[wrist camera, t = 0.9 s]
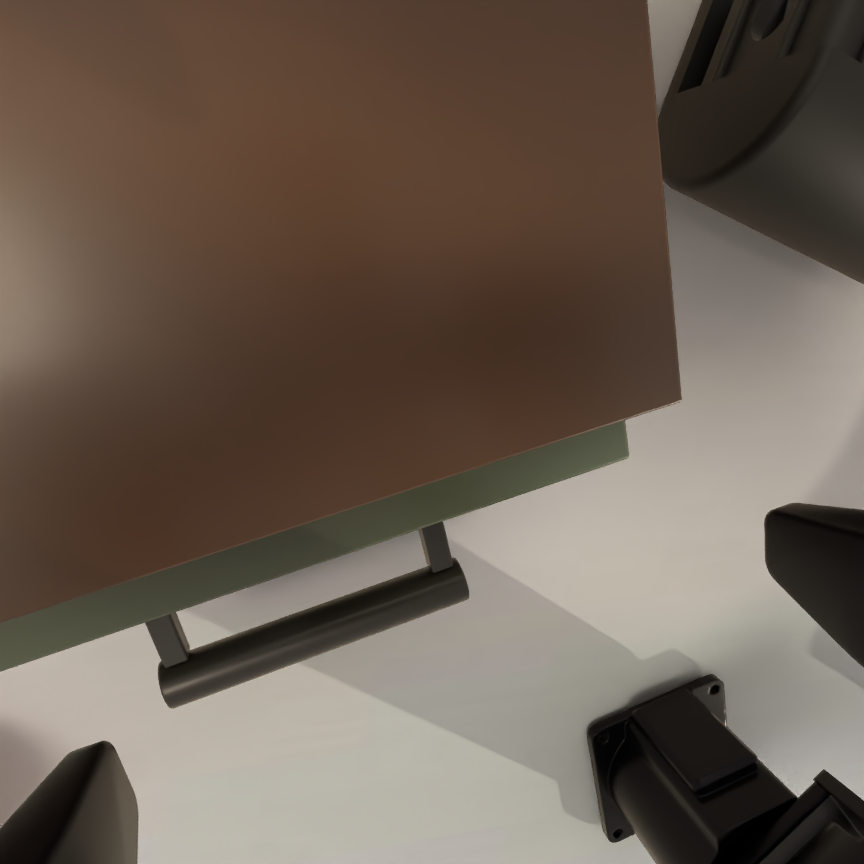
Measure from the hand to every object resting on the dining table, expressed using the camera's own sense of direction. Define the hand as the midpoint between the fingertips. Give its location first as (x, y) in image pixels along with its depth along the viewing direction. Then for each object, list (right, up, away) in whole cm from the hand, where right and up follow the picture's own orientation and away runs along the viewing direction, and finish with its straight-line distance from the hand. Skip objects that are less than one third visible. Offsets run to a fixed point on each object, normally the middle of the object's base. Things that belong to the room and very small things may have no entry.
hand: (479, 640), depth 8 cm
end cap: (+11, +12, +14) cm, 22 cm away
